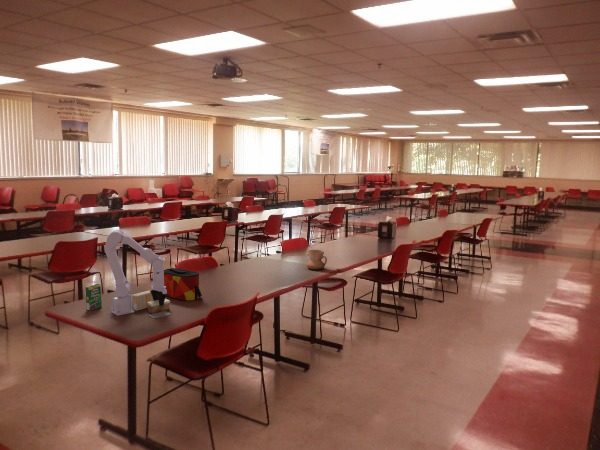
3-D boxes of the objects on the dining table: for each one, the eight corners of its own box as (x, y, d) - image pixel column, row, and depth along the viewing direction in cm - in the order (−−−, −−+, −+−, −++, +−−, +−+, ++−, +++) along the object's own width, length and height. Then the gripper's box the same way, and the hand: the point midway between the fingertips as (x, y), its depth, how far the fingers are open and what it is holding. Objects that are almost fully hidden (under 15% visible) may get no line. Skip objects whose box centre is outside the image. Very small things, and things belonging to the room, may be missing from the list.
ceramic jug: (301, 269, 365) (301, 250, 363) (310, 265, 377) (311, 248, 375) (321, 272, 356) (322, 254, 353) (330, 269, 368) (331, 251, 366)
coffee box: (89, 311, 253) (88, 287, 251) (85, 310, 254) (84, 286, 252) (102, 307, 260) (101, 284, 258) (98, 306, 261) (97, 283, 259)
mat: (154, 318, 243) (154, 318, 243) (147, 315, 248) (147, 314, 248) (171, 314, 250) (171, 314, 250) (165, 311, 255) (165, 310, 255)
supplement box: (151, 289, 267) (131, 294, 257) (156, 291, 265) (136, 295, 254) (151, 303, 268) (131, 309, 258) (156, 305, 266) (136, 310, 255)
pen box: (152, 313, 251) (152, 306, 250) (148, 311, 254) (148, 304, 253) (169, 309, 258) (169, 302, 257) (165, 308, 261) (165, 301, 260)
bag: (155, 294, 287) (154, 268, 285) (172, 289, 298) (172, 264, 296) (190, 303, 271) (189, 275, 269) (207, 298, 282) (207, 271, 280)
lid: (151, 306, 250) (151, 304, 250) (147, 304, 254) (147, 302, 253) (170, 302, 257) (170, 300, 257) (165, 300, 261) (165, 298, 261)
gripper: (171, 281, 251) (172, 305, 253) (158, 275, 261) (159, 299, 263) (159, 283, 246) (160, 308, 248) (146, 277, 257) (147, 302, 258)
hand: (158, 304), depth 255 cm, fingers closed on lid, 5 cm apart
